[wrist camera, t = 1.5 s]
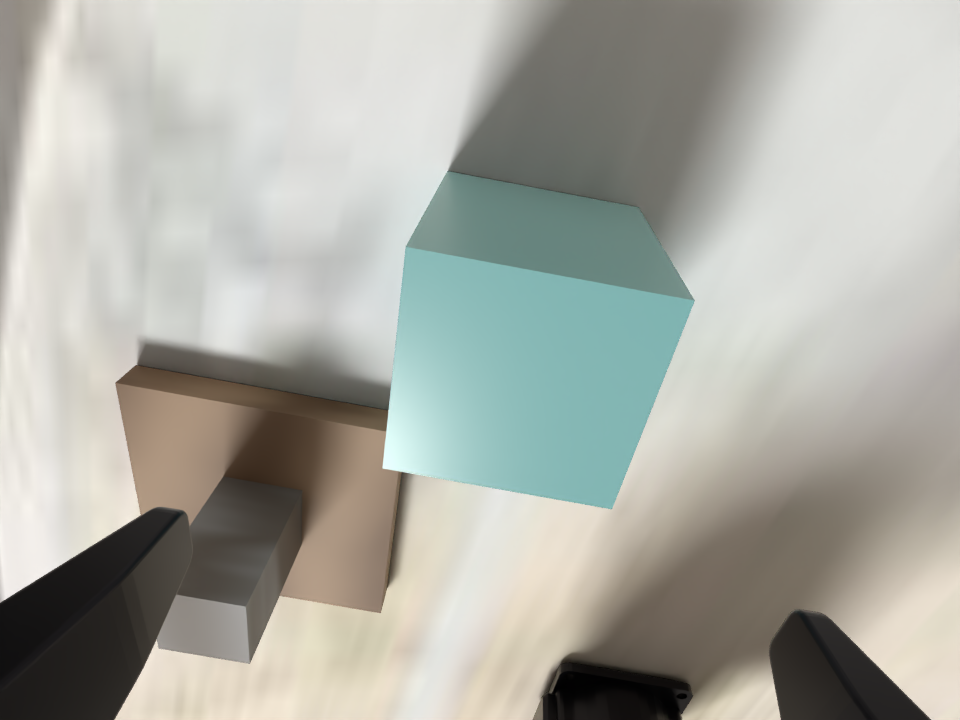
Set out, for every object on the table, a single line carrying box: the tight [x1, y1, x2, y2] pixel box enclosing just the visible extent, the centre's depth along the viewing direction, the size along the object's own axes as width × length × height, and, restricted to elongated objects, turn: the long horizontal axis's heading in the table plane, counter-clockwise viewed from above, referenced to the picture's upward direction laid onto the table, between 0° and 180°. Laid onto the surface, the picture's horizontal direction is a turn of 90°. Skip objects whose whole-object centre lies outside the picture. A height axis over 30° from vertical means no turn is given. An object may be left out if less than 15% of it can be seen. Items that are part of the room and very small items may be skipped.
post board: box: [116, 365, 402, 664], centre depth 21 cm, size 10×10×6 cm
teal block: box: [383, 171, 695, 509], centre depth 15 cm, size 6×6×6 cm
